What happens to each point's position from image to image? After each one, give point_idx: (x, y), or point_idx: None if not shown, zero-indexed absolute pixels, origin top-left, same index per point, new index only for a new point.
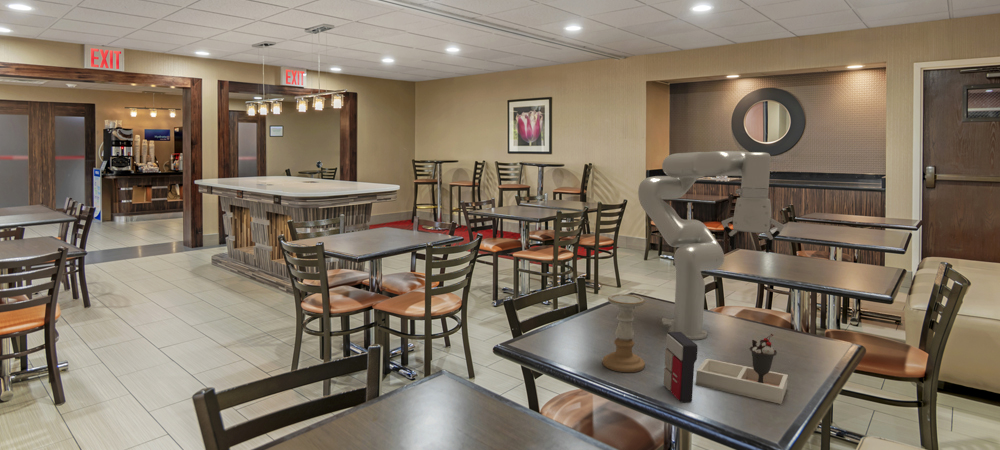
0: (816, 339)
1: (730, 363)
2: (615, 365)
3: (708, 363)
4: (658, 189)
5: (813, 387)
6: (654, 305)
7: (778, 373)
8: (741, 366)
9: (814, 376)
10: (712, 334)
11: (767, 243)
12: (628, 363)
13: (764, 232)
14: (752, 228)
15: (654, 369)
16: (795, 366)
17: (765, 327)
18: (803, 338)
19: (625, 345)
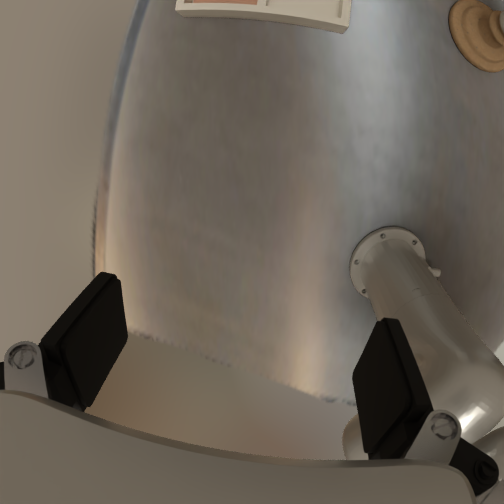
0: (151, 325)
1: (294, 14)
2: (486, 6)
3: (340, 14)
4: None
5: (140, 54)
6: None
7: (192, 6)
8: (269, 7)
9: (136, 113)
10: (336, 284)
11: (70, 318)
12: (473, 6)
13: (20, 391)
14: (164, 494)
15: (432, 22)
16: (168, 151)
17: (235, 358)
18: (169, 323)
19: (498, 11)
